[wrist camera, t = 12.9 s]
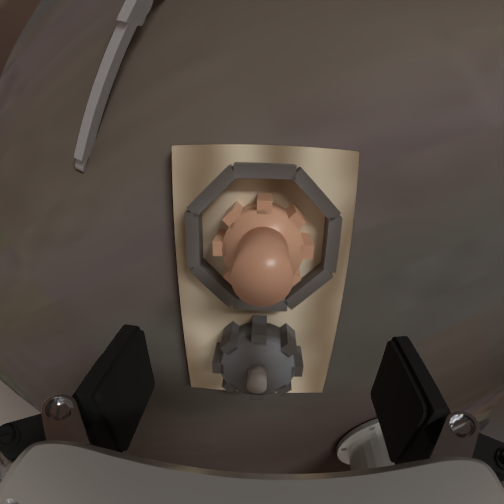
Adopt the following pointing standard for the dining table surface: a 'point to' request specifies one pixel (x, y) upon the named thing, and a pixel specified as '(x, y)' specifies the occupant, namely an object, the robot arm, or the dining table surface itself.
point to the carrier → (212, 267)
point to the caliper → (108, 75)
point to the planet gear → (263, 249)
